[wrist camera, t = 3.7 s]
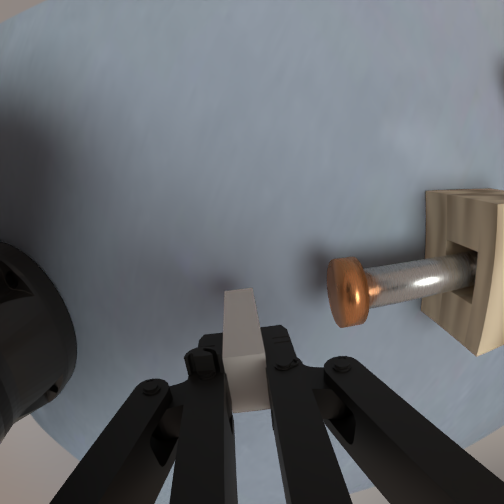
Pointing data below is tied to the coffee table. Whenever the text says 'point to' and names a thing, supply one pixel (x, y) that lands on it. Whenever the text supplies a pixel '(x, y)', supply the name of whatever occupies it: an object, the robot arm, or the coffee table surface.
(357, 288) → the pin
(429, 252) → the block
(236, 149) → the coffee table surface
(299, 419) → the robot arm
